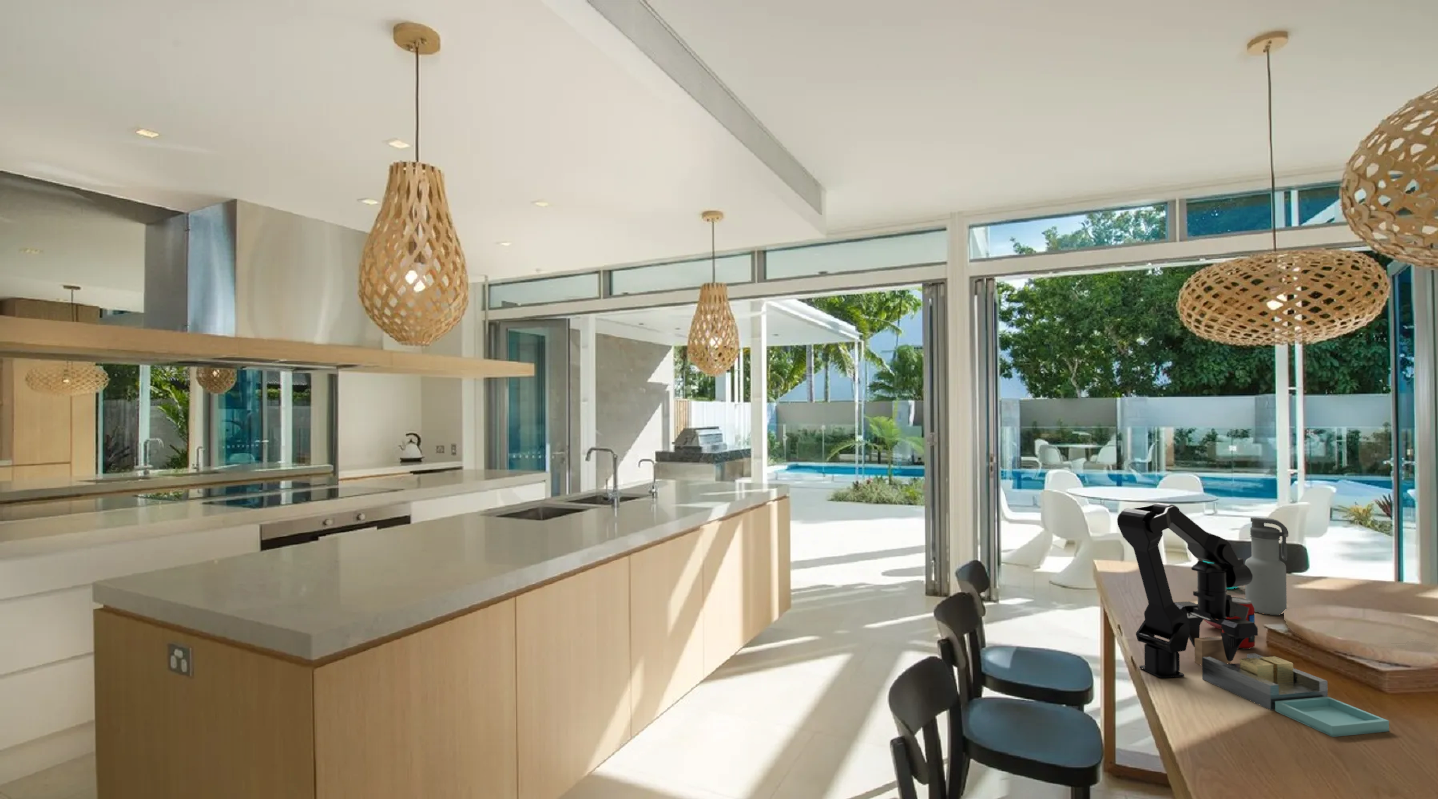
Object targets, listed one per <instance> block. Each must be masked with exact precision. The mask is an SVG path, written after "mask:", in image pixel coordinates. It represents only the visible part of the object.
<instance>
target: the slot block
mask: <svg viewBox="0 0 1438 799" xmlns="http://www.w3.org/2000/svg"><path fill="white" fill-rule="evenodd" d="M1259 657H1264V656H1263V655H1260V654H1258V653H1255V652H1254V653H1247V654H1246V658H1257V659H1259ZM1201 667H1202V668H1201V672H1202V673H1201V674H1202V676H1201V679H1202V680H1203V681H1205V680H1206V681H1205V682H1207V681H1208V682H1207V683H1210V684H1212V685H1215V686H1216V687H1219V688H1221V689H1223V690H1225V691H1228V692H1230V693H1231V694H1234V695H1236V696H1239V697H1240V696H1241V698H1243V699H1245V700H1247V701H1249V700H1251V701H1252V703H1254V702H1255V703H1254V704H1256V705H1258V704H1260V705H1261V707H1263V708H1264V709H1267V708H1268V709H1267V710H1269V709H1270V710H1269V711H1275V701H1284V700H1295V699H1306V698H1317V697H1329V696H1328V680H1326V679H1325V678H1321V677H1318V676H1315V675H1313V674H1310V673H1308V672H1304V671H1302V670H1300V669H1297V668H1296V667H1293V682H1285V683H1276V682H1274V683H1273V682H1270V681H1268V680H1265V679H1263V678H1261V677H1258V676H1256V675H1253V674H1251V673H1248V672H1246V671H1243V670H1241V669H1240V662H1238V663H1237V662H1236V663H1231V664H1226V663H1224V662H1221V661H1219V660H1217V659H1214V658H1212V657H1202V666H1201ZM1251 701H1250V702H1251ZM1260 705H1259V706H1260Z"/></svg>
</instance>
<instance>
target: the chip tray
mask: <svg viewBox="0 0 1438 799" xmlns="http://www.w3.org/2000/svg"><path fill="white" fill-rule="evenodd" d="M1274 712H1277V713H1279V714H1280V715H1283V716H1286V717H1288V718H1289V719H1292V720H1295V721H1296V722H1299V723H1301V724H1303V725H1305V726H1307V727H1309V728H1312V729H1314V730H1316V731H1318V732H1319V733H1320V732H1321V733H1323V734H1325V735H1328V736H1329V737H1332V738H1334V737H1336V738H1337V737H1343V736H1344V737H1345V736H1346V737H1347V736H1355V735H1356V736H1357V735H1363V734H1364V735H1366V734H1375V733H1386V732H1390V720H1388V719H1385V718H1383V717H1380V716H1378V715H1376V714H1373V713H1370V712H1368V711H1365V710H1363V709H1360V708H1358V707H1355V706H1354V705H1350V704H1348V703H1346V702H1343V701H1340V700H1338V699H1335V698H1332V697H1331V696H1328V697H1317V698H1306V699H1295V700H1284V701H1275V710H1274Z"/></svg>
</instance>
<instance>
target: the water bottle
mask: <svg viewBox="0 0 1438 799" xmlns="http://www.w3.org/2000/svg"><path fill="white" fill-rule="evenodd" d="M1250 523H1251V527H1250V529H1249V531H1250V532H1249V535H1250V536H1249V538H1251V547H1250V548H1251V556H1250V557H1248V558H1246V560H1245V561H1244V564H1245V565H1246V566H1247V567H1248V568H1249V569H1250V571H1251V573H1252V575H1253V578H1252V581H1251V582H1250V583H1249V584H1248V585H1245V587H1244V591H1245V592H1244V593H1245V594H1244V595H1245V597H1244V599H1248V600H1250V601H1251V603H1252V605H1253V607H1254V611H1255V613H1256V612H1259V613H1258V614H1261V613H1264V614H1263V615H1267V614H1270V616H1280V615H1279V614H1281V613H1282V612H1283V611H1284V610H1285V609H1287V608H1288V607H1287V606H1288V605H1287V603H1288V602H1287V600H1288V599H1287V566H1286V564H1285V563H1284V562H1283V561H1285V562H1287V561H1288V544H1287V538H1288V537H1289V530H1288V528H1287V527H1286V526H1285V525H1284V524H1283V523H1282V522H1281V521H1279V520H1277V519H1275V518H1267V517H1256V516H1252V517H1250ZM1265 524H1270V525H1275V526H1278V527H1279V528H1280V529H1278V528H1276V527H1273V526H1267V525H1265ZM1280 530H1281V531H1280ZM1280 537H1281V538H1282V539H1280ZM1280 540H1281V542H1280ZM1280 543H1281V544H1280ZM1280 546H1281V548H1280ZM1280 549H1281V551H1280ZM1280 552H1281V558H1282V560H1283V561H1282V560H1280ZM1287 610H1288V609H1287Z"/></svg>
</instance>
